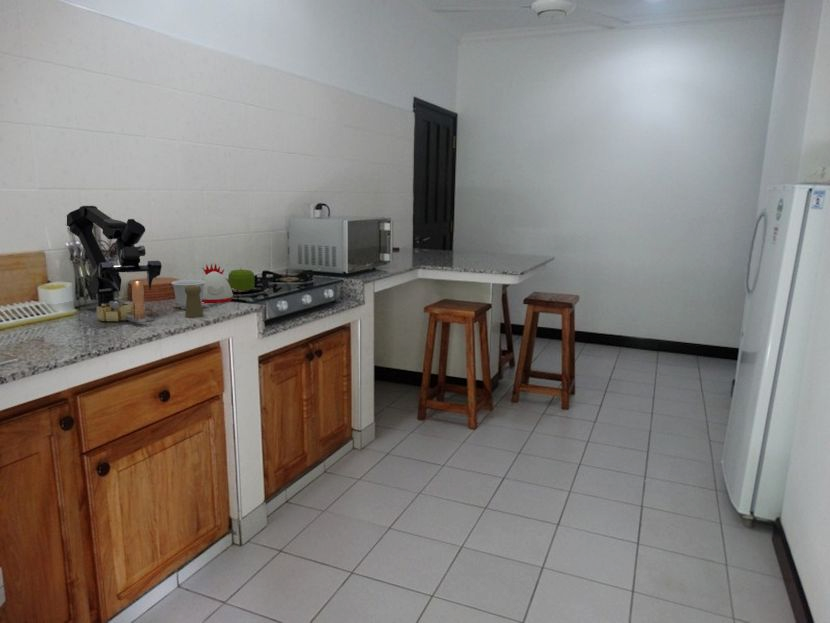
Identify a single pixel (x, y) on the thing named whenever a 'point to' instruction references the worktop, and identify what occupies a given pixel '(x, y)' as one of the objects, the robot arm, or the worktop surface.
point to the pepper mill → (193, 301)
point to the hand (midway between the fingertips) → (135, 289)
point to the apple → (241, 279)
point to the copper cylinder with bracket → (126, 307)
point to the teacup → (180, 290)
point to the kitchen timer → (216, 286)
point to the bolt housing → (100, 324)
